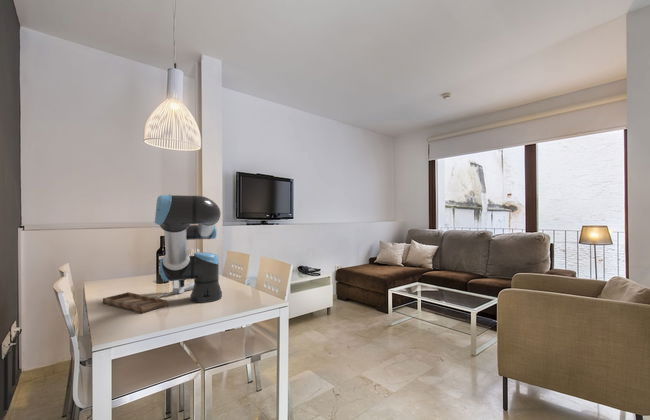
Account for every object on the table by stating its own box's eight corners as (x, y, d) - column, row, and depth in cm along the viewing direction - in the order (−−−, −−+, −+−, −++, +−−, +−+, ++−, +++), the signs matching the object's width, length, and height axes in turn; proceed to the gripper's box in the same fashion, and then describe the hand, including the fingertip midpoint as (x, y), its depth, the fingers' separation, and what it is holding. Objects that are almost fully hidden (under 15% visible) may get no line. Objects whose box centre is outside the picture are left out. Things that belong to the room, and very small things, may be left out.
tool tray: (167, 305, 141) (167, 300, 141) (142, 313, 130) (142, 307, 130) (128, 297, 154) (128, 292, 154) (102, 303, 143) (102, 298, 143)
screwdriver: (154, 301, 152) (152, 293, 152) (194, 287, 174) (193, 280, 174) (160, 301, 150) (158, 292, 150) (200, 287, 172) (199, 279, 172)
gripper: (195, 249, 162) (195, 292, 162) (174, 247, 169) (174, 288, 169) (183, 251, 155) (183, 296, 155) (162, 249, 162) (161, 291, 162)
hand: (178, 292), depth 162 cm, fingers closed on screwdriver, 4 cm apart
